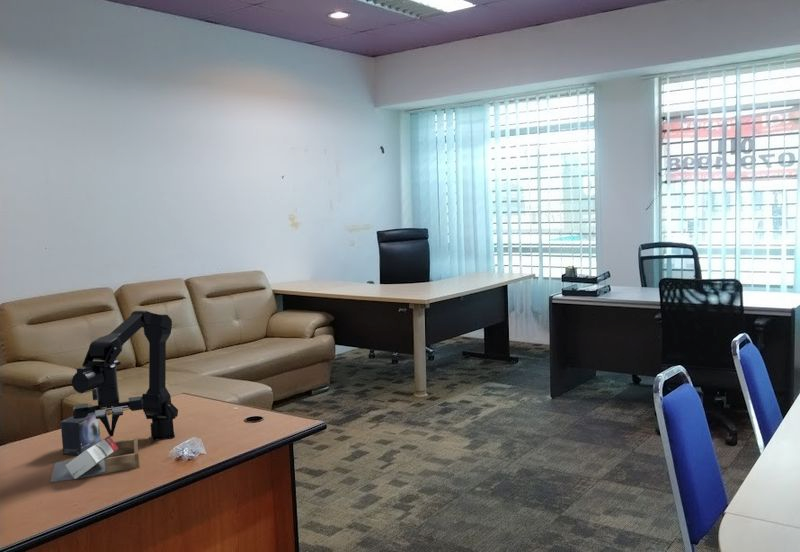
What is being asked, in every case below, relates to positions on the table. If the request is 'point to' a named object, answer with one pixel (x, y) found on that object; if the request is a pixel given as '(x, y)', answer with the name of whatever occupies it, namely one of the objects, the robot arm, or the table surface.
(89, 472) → the felt pad
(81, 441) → the small box
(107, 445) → the ink box
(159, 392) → the robot arm
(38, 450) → the table surface
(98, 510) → the table surface
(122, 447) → the corral
